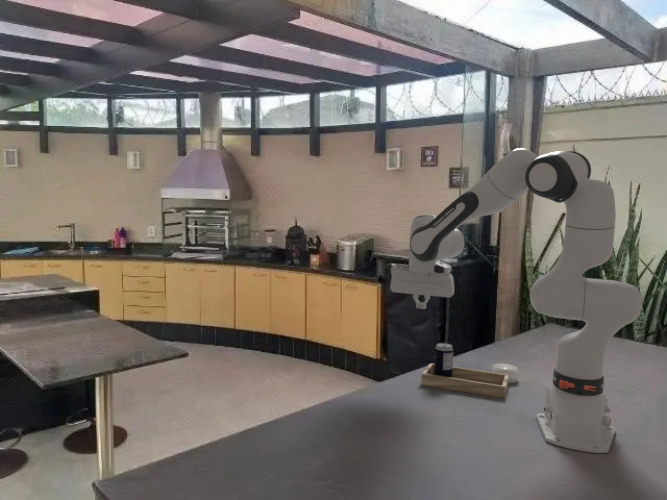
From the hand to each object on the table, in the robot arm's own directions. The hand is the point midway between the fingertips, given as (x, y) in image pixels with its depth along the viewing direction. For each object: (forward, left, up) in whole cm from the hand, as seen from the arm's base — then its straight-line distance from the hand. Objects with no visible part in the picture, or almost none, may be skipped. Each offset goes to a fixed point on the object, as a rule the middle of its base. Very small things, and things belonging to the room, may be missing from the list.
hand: (421, 308), depth 168 cm
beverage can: (0, -8, -23) cm, 25 cm away
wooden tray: (0, -15, -23) cm, 27 cm away
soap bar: (+12, -26, -23) cm, 37 cm away
